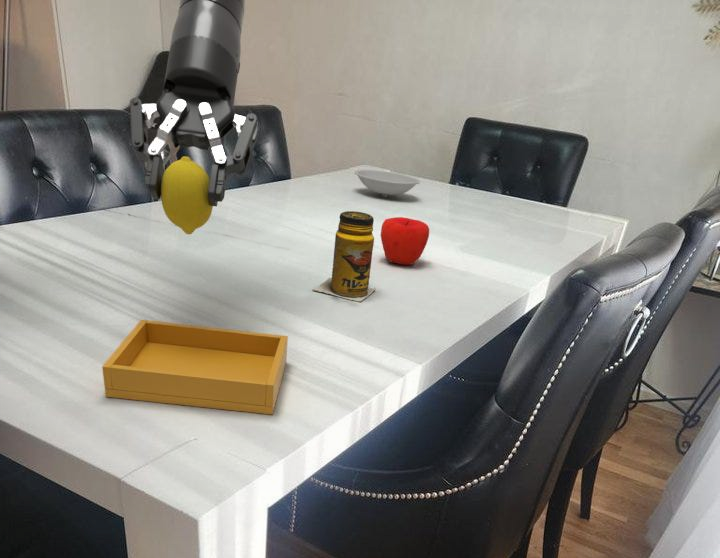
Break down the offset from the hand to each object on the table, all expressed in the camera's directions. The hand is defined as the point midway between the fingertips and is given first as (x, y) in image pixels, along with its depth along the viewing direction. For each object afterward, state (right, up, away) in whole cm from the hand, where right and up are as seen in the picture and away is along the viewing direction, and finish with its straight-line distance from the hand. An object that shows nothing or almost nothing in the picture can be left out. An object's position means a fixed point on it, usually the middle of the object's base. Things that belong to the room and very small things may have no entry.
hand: (183, 197), depth 69 cm
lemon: (0, -3, +4) cm, 5 cm away
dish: (+25, +46, +105) cm, 117 cm away
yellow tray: (+1, -18, +5) cm, 19 cm away
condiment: (+16, +1, +37) cm, 40 cm away
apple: (+27, +11, +54) cm, 61 cm away
